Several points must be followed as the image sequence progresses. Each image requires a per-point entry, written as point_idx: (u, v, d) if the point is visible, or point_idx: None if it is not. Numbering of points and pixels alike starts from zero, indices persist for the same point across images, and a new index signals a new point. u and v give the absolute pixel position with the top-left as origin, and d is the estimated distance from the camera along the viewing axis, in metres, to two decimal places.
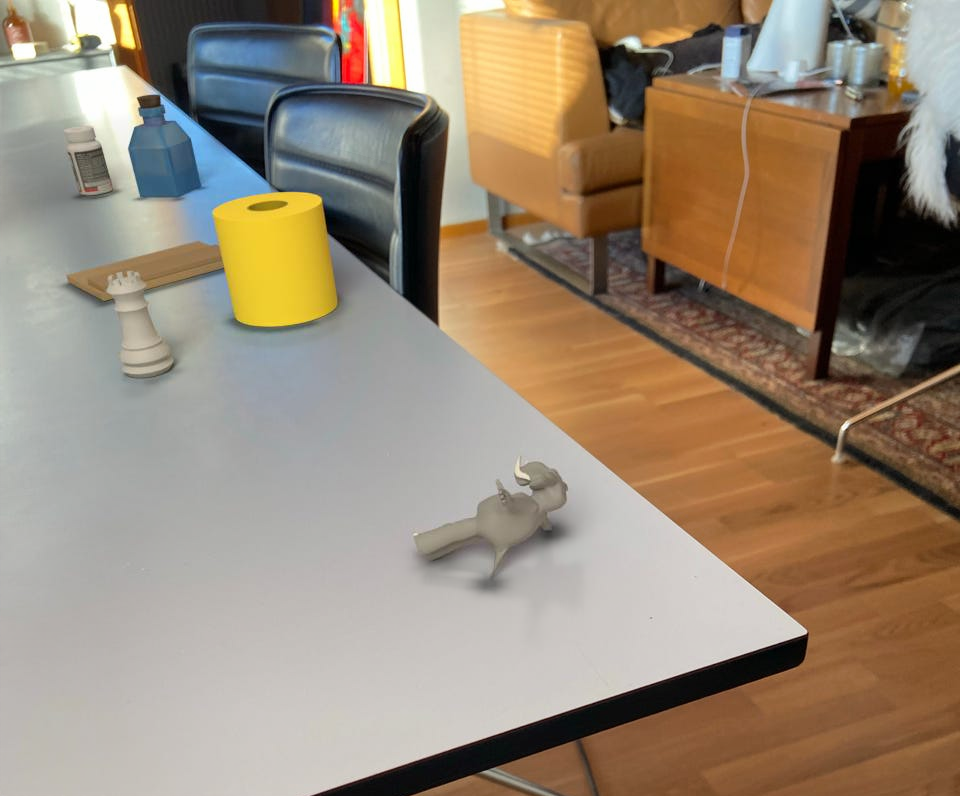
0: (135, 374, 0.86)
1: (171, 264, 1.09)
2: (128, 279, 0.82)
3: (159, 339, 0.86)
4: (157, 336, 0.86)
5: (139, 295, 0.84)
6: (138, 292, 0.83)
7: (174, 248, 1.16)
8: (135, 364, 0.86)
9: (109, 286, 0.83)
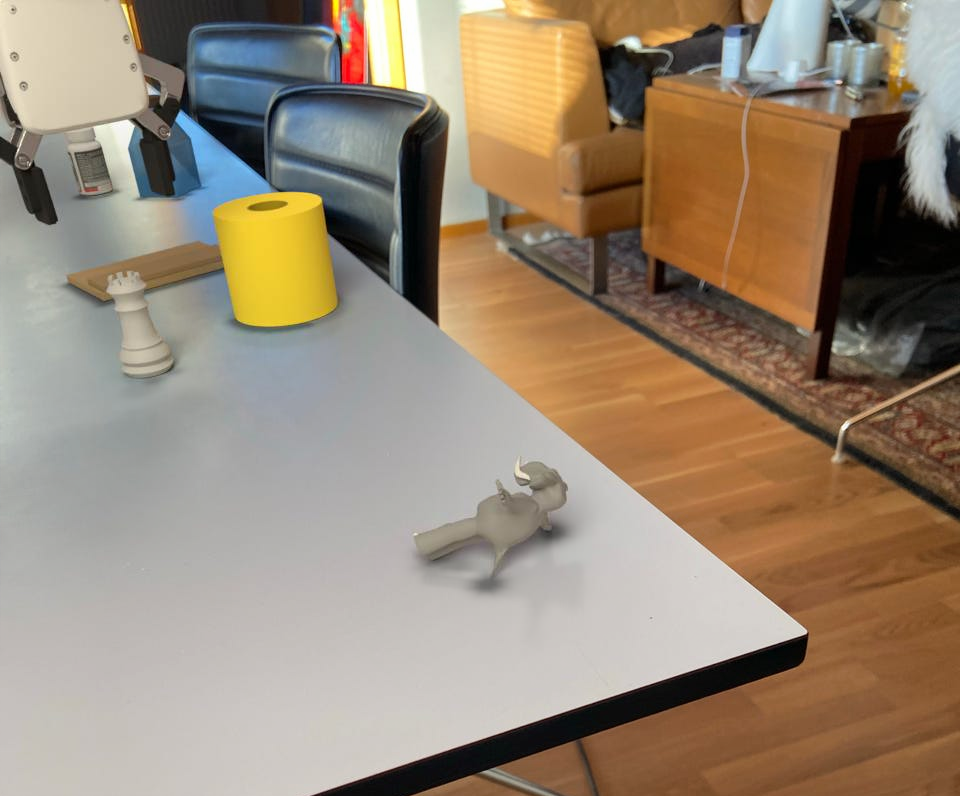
0: (135, 374, 0.86)
1: (171, 264, 1.09)
2: (128, 279, 0.82)
3: (159, 339, 0.86)
4: (157, 336, 0.86)
5: (139, 295, 0.84)
6: (138, 292, 0.83)
7: (174, 248, 1.16)
8: (135, 364, 0.86)
9: (109, 286, 0.83)
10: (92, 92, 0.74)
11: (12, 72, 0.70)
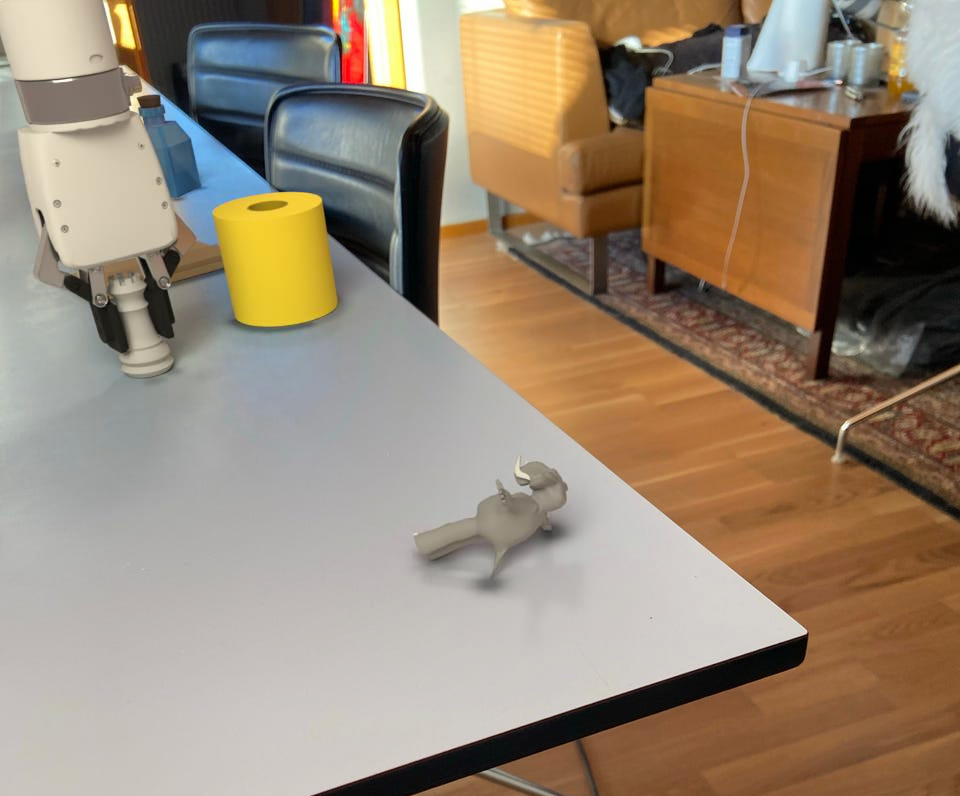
0: (135, 374, 0.86)
1: None
2: (128, 279, 0.82)
3: (159, 339, 0.86)
4: (157, 336, 0.86)
5: (139, 295, 0.84)
6: (138, 292, 0.83)
7: None
8: (135, 364, 0.86)
9: (109, 286, 0.83)
10: (127, 230, 0.80)
11: (54, 217, 0.76)
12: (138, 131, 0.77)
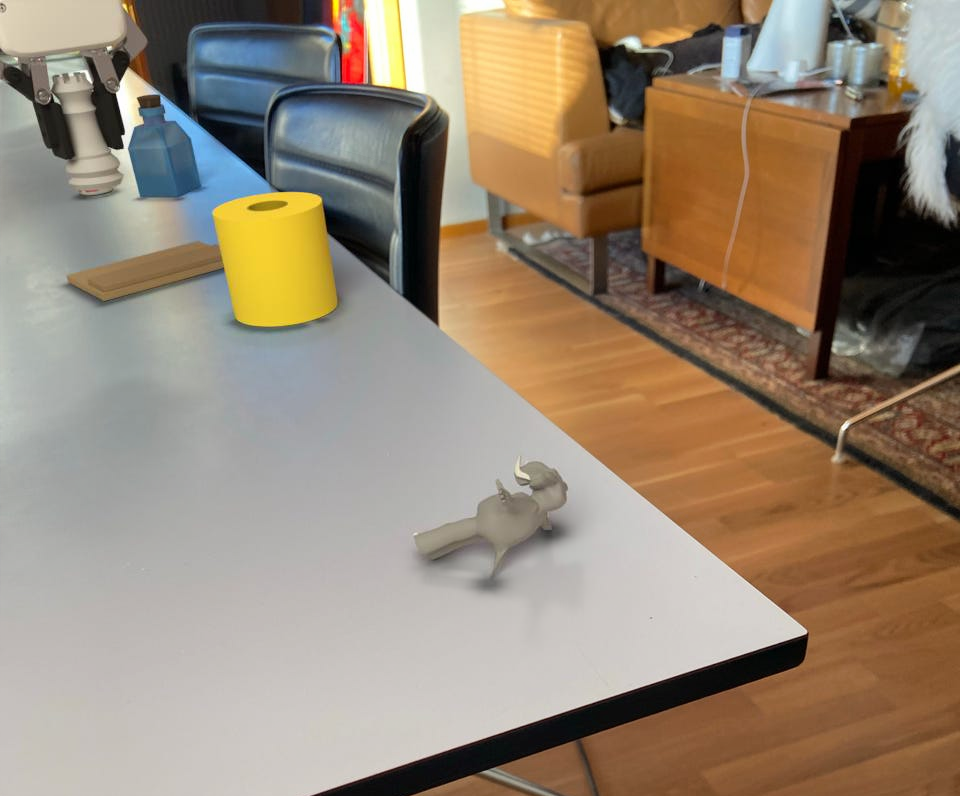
0: (82, 185, 0.82)
1: (171, 264, 1.09)
2: (73, 76, 0.78)
3: (108, 149, 0.82)
4: (106, 146, 0.82)
5: (86, 96, 0.79)
6: (84, 92, 0.79)
7: (174, 248, 1.16)
8: (81, 174, 0.81)
9: (53, 85, 0.79)
10: (70, 17, 0.75)
11: None
12: None
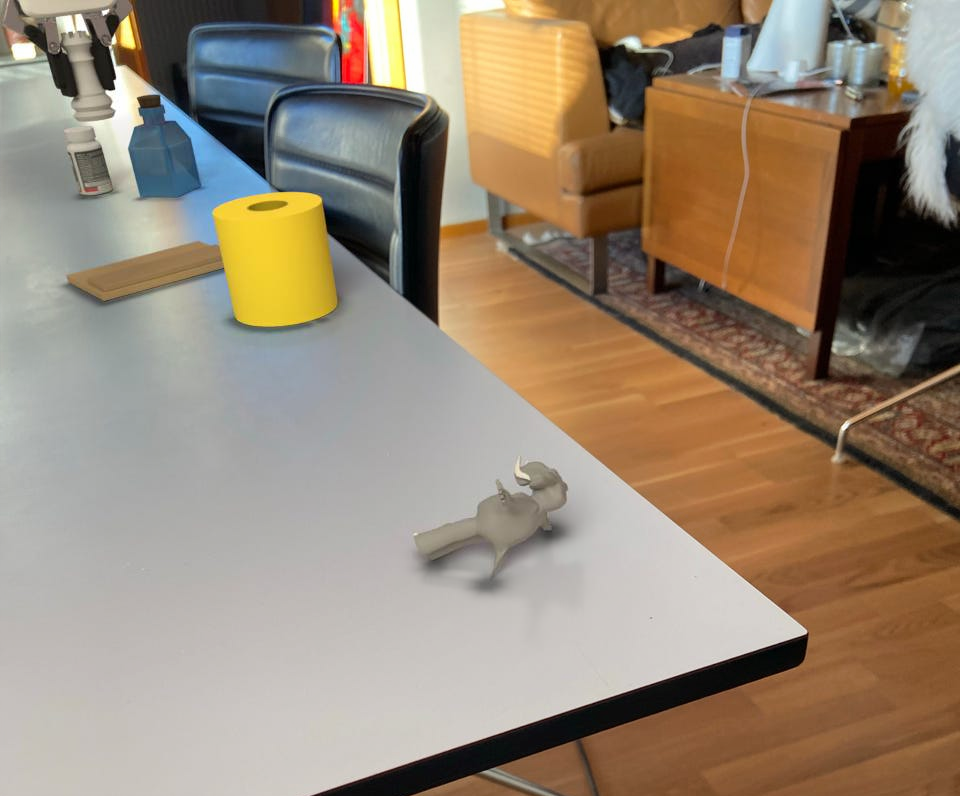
0: (83, 117, 1.07)
1: (171, 264, 1.09)
2: (76, 33, 1.04)
3: (103, 90, 1.08)
4: (101, 88, 1.08)
5: (86, 48, 1.05)
6: (85, 45, 1.04)
7: (174, 248, 1.16)
8: (83, 108, 1.07)
9: (62, 40, 1.04)
10: None
11: None
12: None
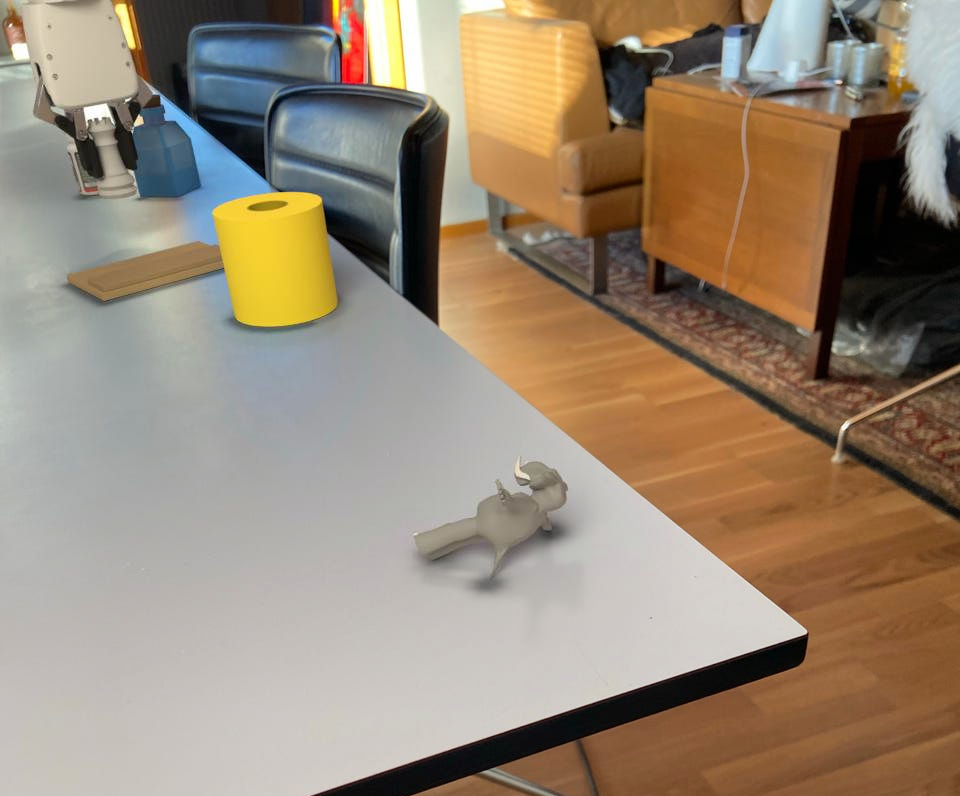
0: (108, 196, 1.16)
1: (171, 264, 1.09)
2: (102, 120, 1.13)
3: (126, 170, 1.16)
4: (125, 168, 1.16)
5: (111, 134, 1.14)
6: (110, 131, 1.13)
7: (174, 248, 1.16)
8: (108, 187, 1.16)
9: (88, 126, 1.13)
10: (100, 81, 1.10)
11: (48, 67, 1.06)
12: (107, 6, 1.07)
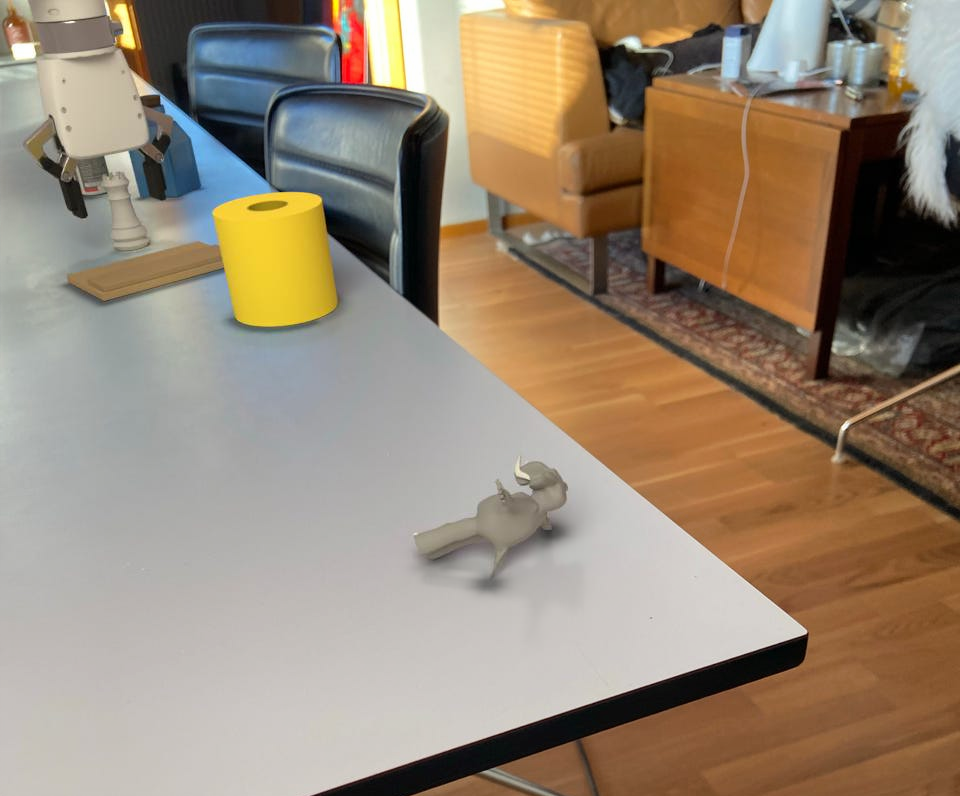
0: (122, 247, 1.20)
1: (171, 264, 1.09)
2: (116, 176, 1.16)
3: (139, 222, 1.20)
4: (138, 220, 1.20)
5: (124, 188, 1.17)
6: (124, 186, 1.17)
7: (174, 248, 1.16)
8: (121, 239, 1.19)
9: (103, 181, 1.16)
10: (112, 132, 1.13)
11: (61, 120, 1.09)
12: (120, 60, 1.10)
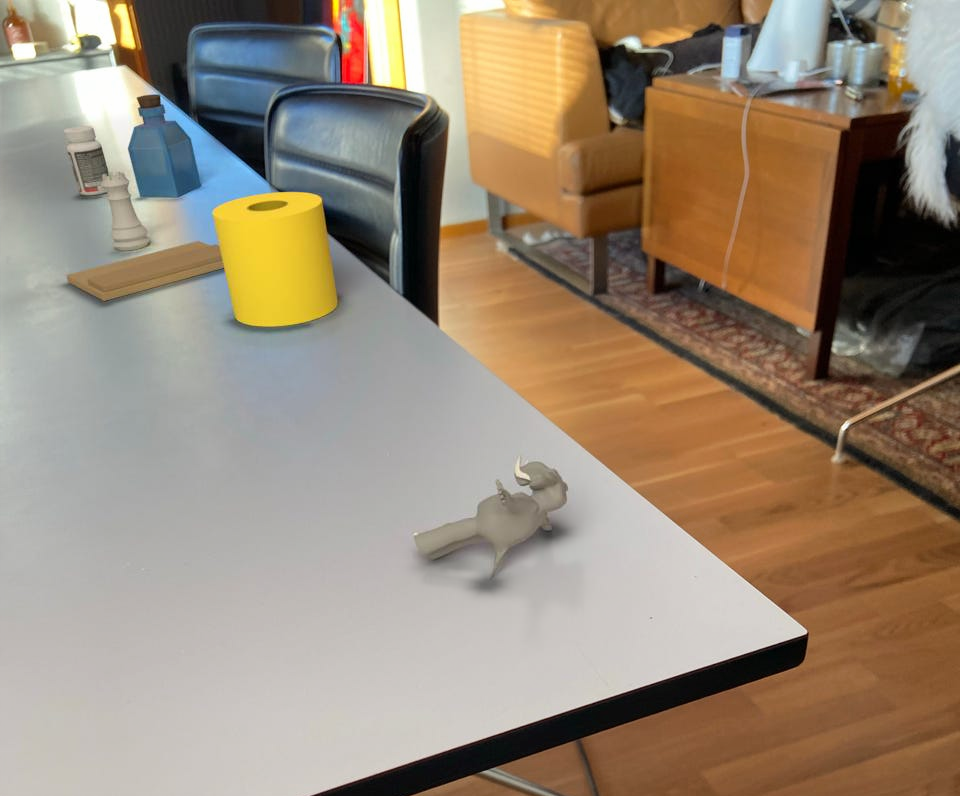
0: (122, 247, 1.20)
1: (171, 264, 1.09)
2: (116, 176, 1.16)
3: (139, 222, 1.20)
4: (138, 220, 1.20)
5: (124, 188, 1.17)
6: (124, 186, 1.17)
7: (174, 248, 1.16)
8: (121, 239, 1.19)
9: (103, 181, 1.16)
10: None
11: None
12: None
